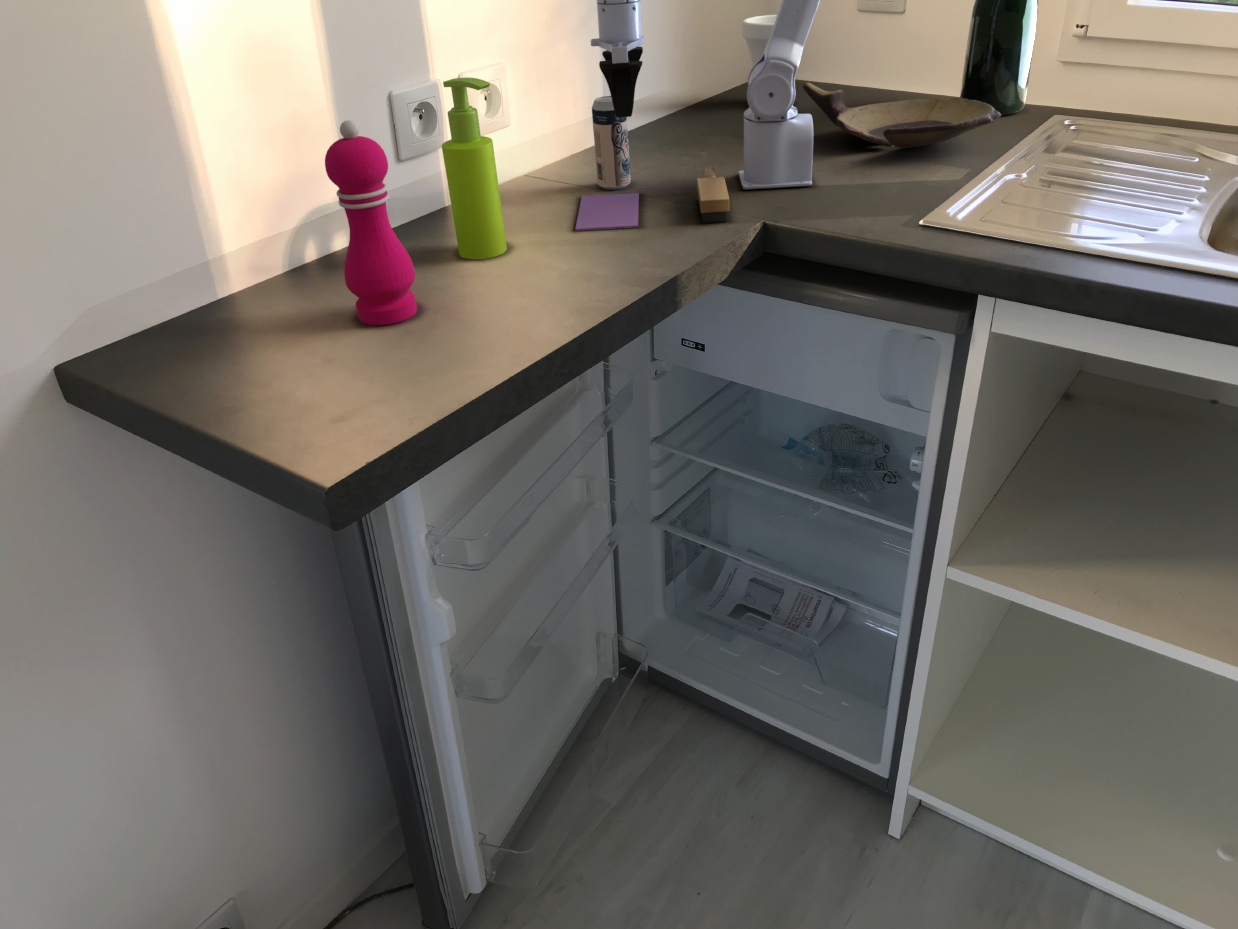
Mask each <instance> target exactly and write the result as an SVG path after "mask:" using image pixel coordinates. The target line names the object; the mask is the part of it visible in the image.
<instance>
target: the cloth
mask: <svg viewBox="0 0 1238 929" xmlns="http://www.w3.org/2000/svg"><path fill="white" fill-rule="evenodd" d="M580 198H581V199H580V203H579V209H578V213H577V217H576V225H575V232H580V231H595V230H596V231H598V230H599V231H600V230H619V229H635V228H639V209H640V208H639V207H640V206H639V205H640V204H639V201H640V193H639V192H630V193H614V194H613V193H611V194H596V195H582V196H581V197H580Z"/></svg>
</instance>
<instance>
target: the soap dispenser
mask: <svg viewBox="0 0 1238 929" xmlns="http://www.w3.org/2000/svg"><path fill="white" fill-rule="evenodd" d="M442 84H443V88H450V89H451V96H452V102H453V107H451V109H450V110H448V111H447V118H448V125H449V131H450V139H448V140H445V141H444V142H442V144H441V150H442V157H443V162H444V168H445V174H446V181H447V187H448V193H449V199H450V205H451V211H452V218H453V225H454V230H455V236H456V241H457V249H458V254H459V256H460V257H461V258H462V259H463V258H464V259H466V260H475V261H476V260H487V259H492V258H496V257H500V256H501V255H503V254H505V252H506V251H507V249H508V246H507V238H506V231H505V223H504V216H503V209H502V202H501V195H500V194H501V193H500V186H499V178H498V173H497V165H496V164H497V163H496V157H495V150H494V143H493V139H492V138H491V137H488V136H485V135H484V136H483V135H482V134H481V127H480V122H479V121H480V120H479V113H478V109H477V108H476V107H473V106H472V105H470V103H469V97H468V96H469V95H468V88H469V89H473V90H476V91H481V90H484V89H487V88H489V87H490V86H491V82H489V81H487V80H484V79H481V78H477V77H455V78H450V79H448V80H445V81H442Z"/></svg>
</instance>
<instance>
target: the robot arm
mask: <svg viewBox="0 0 1238 929" xmlns="http://www.w3.org/2000/svg"><path fill="white" fill-rule="evenodd" d="M820 2H821V0H781V3H780V6H779V9H778V12H777V14H776V15H777V18H776V21H775V24H774V27H773V30H772V33H771V35H770V37H769V40H768V42H767V44H766V47H765V50H764V53H763V55H762V57H761V58H760V60H759V61H758V62H757V63H756V64H755V65H754V66H753V68H752V67H751V69H750V71H749V73H748V76H747V90H746V101H747V104H748V108H747V109H746V110H744V112H743V170H739V171H738V177H739V180H740V184H741V187H742V189H743V190H759V189H777V188H795V187H797V188H798V187H810V186H813V181H812V180H813V179H812V178H813V156H814V155H813V154H814V121H813V116H812V114H811V113H798V108H797V107H796V106H794V104H795V101H796V94H797V93H796V76H797V73H798V70H799V67H800V63H801V59H802V55H803V51H804V47H805V44H806V41H807V38H808V36H809V33H810V30H811V27H812V25H813V22H814V19H815V16H816V14H817V11H818V8H819V5H820ZM641 3H642V2H641V0H596V10H597V26H598V38H591V39H590V46H591V47H599V48H601V49H603V50H604V51H602V53H601V54H602V57H603V59H604V60H600V61H599V63H598V66H599V69H600V71H601V73H602V75H603V77H604V79H605V81H606V83H607V84H606V85H607V86H608V90H609V93H610V96H611V98H612V103H613V107H614V111H615V114H616V117H627V118H631V117H632V116H633V112H634V104H635V93H636V85H637V80H638V77H639V74H640V71H641V69H642V66H643V60H641V58H642V55H643V53H644V48H643V46H642V45H643V44H644V43H645V37H644V35H643V27H642V7H641V6H642V4H641Z"/></svg>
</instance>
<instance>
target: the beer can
mask: <svg viewBox="0 0 1238 929" xmlns="http://www.w3.org/2000/svg"><path fill="white" fill-rule="evenodd" d="M591 117H592V118H591V119H592V128H593V129H592V130H593V142H594V156H595V168H596V170H595V171H596V181H597V183H596V184H597V186H599V187H601V188H602V189H603V190H608V191H609V190H611V191H613V190H614V191H615V190H621V189H625V188H626V187H627V186H628V185H629V184H631V166H630V165H631V164H630V148H629V128H628V117H616V114H615V111H614V107H613V103H612V98H611V95H605V96H604V95H603V96H598V97H596V98H595V99H594V100H593V104H592V106H591Z"/></svg>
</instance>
